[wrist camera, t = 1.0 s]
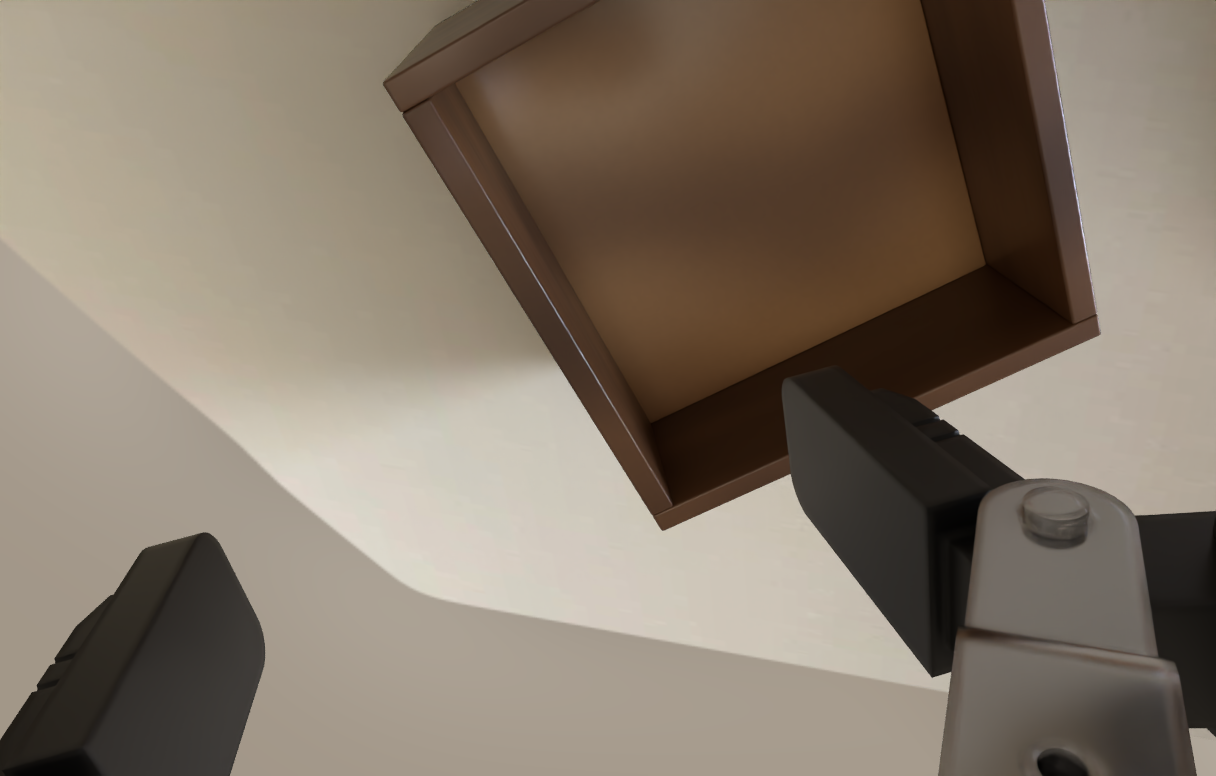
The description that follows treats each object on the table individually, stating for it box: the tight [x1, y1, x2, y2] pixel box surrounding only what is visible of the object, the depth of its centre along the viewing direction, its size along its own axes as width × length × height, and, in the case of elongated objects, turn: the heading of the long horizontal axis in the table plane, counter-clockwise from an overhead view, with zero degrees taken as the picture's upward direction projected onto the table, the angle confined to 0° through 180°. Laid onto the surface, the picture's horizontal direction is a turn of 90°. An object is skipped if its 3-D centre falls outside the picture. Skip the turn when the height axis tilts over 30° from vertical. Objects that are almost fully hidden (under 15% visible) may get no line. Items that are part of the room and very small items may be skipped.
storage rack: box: [383, 0, 1101, 531], centre depth 26 cm, size 16×15×13 cm
